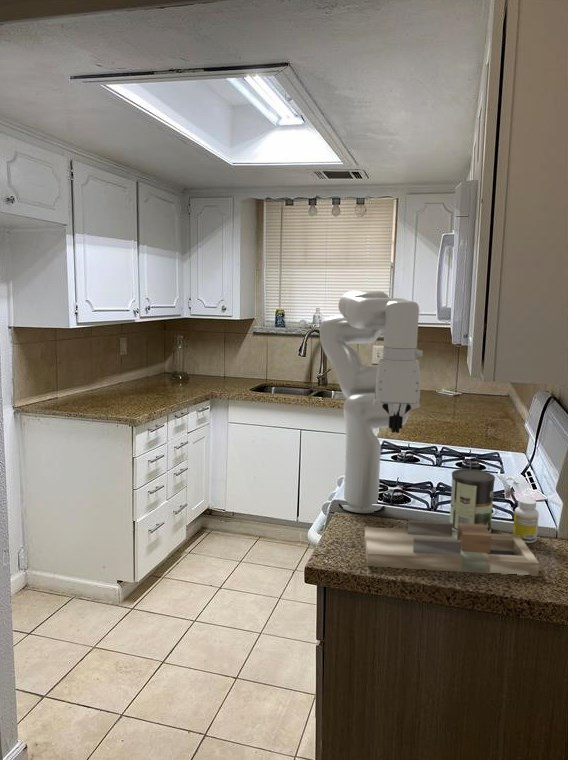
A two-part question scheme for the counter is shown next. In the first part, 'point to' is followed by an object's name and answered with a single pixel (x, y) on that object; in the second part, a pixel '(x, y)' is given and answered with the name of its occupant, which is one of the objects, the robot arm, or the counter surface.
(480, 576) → the counter surface
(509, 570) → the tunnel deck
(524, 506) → the supplement bottle
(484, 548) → the walnut block
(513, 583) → the counter surface
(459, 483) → the coffee can
